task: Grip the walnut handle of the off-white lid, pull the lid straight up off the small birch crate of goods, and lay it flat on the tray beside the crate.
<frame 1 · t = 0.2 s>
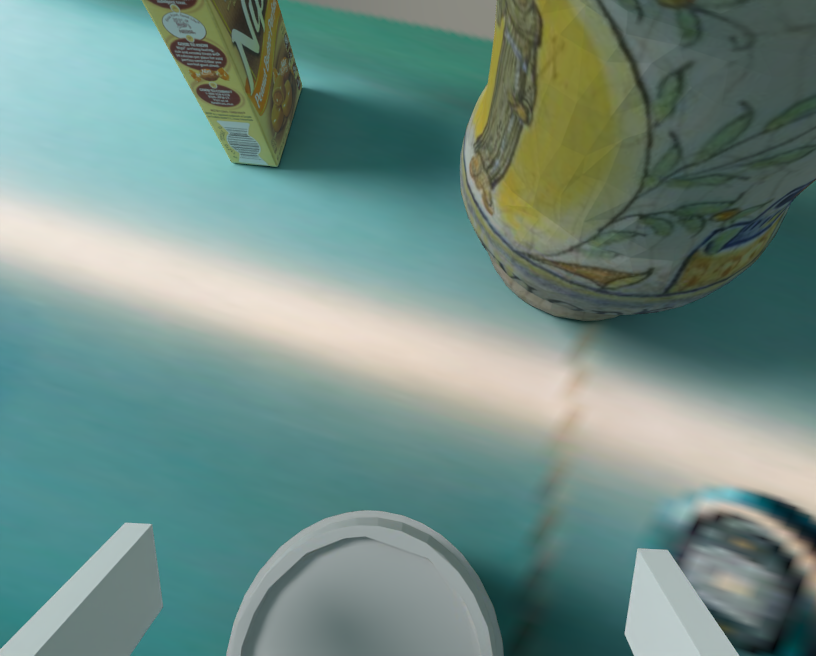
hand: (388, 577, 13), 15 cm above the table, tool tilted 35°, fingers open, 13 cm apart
disposable coffee cup: (386, 605, 26), on the table
vase: (572, 237, 35), on the table
candy box: (268, 125, 39), on the table
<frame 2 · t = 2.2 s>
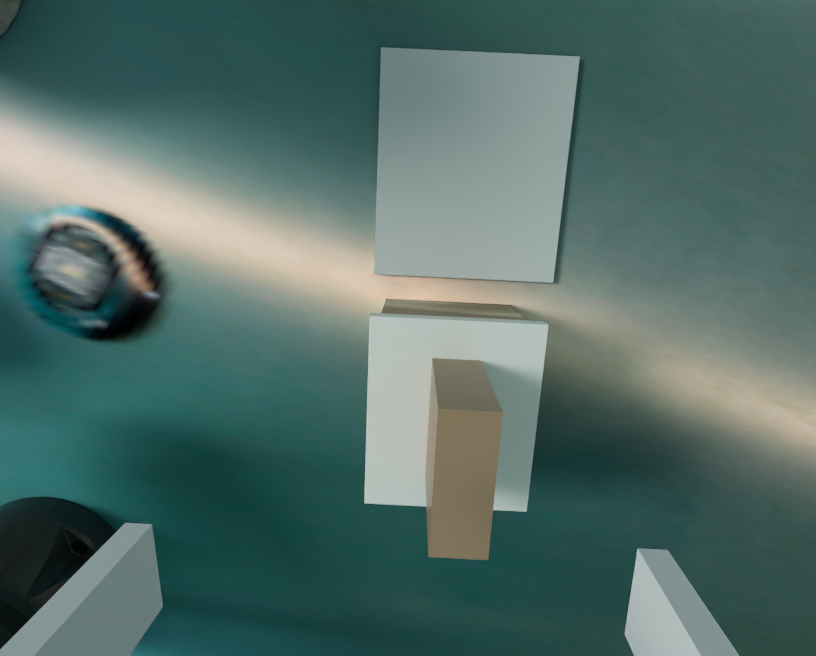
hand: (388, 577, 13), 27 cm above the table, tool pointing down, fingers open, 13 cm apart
tray: (470, 171, 36), on the table
lid: (449, 403, 33), point 6 cm above the table, touching crate
crate: (443, 373, 40), on the table
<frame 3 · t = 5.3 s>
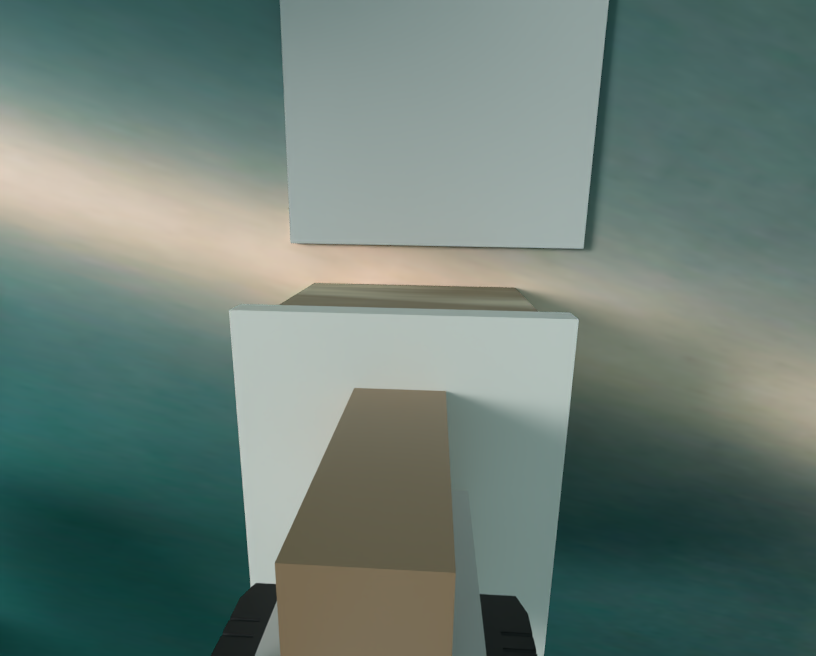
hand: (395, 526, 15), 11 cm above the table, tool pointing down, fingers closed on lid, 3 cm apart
tray: (439, 63, 21), on the table
lid: (403, 460, 19), point 6 cm above the table, touching crate, gripper
crate: (411, 397, 25), on the table
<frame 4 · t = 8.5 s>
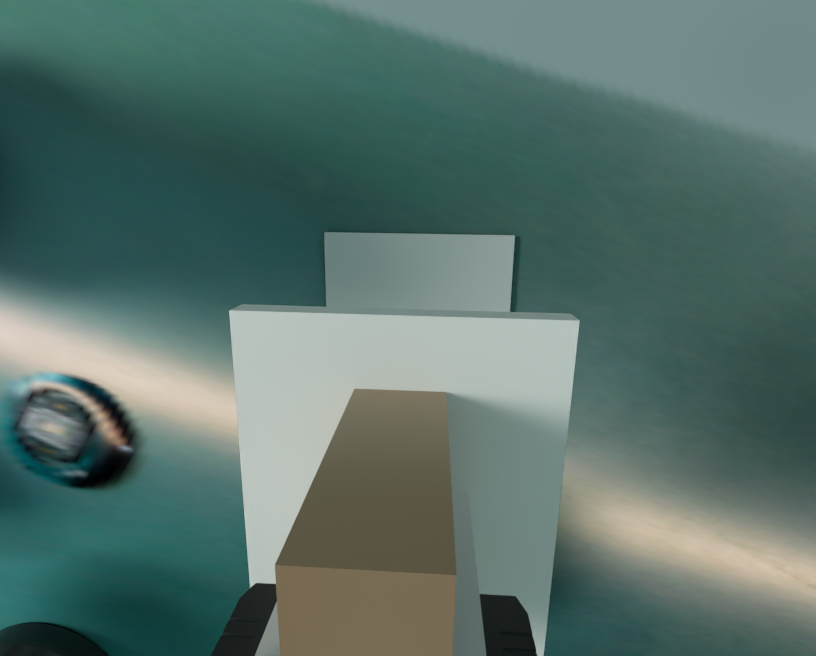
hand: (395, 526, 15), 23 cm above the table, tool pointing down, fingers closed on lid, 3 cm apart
tray: (416, 337, 37), on the table
lid: (403, 461, 19), point 19 cm above the table, touching gripper
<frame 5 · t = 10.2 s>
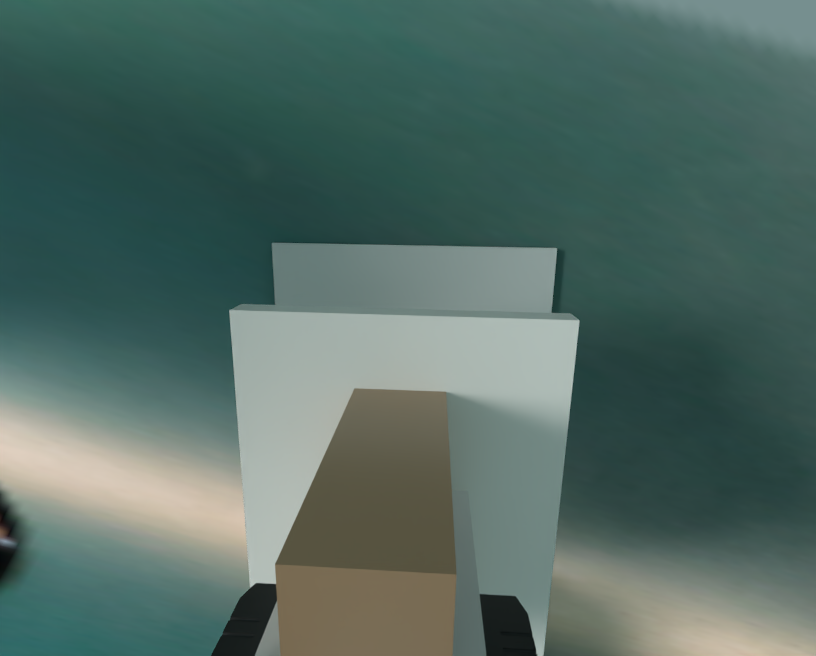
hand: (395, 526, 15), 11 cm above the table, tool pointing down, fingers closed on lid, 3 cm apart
tray: (410, 395, 26), on the table
lid: (403, 461, 19), point 7 cm above the table, touching gripper
when the fingers open (5 cm above the table, at t = 11.8 s): lid drops 1 cm, resting on tray.
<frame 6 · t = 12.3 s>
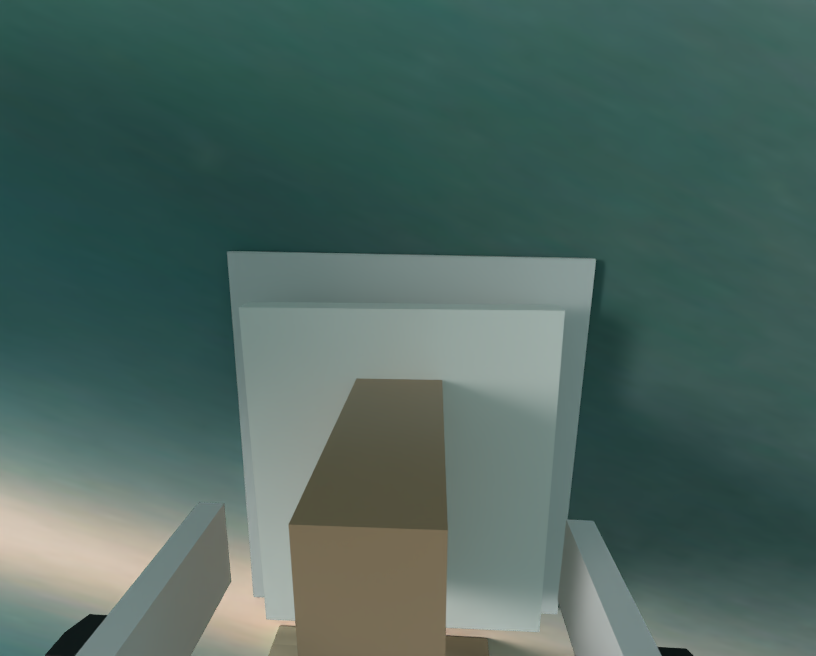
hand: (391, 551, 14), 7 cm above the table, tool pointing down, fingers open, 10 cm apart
tray: (405, 442, 20), on the table
lid: (404, 448, 20), resting on tray
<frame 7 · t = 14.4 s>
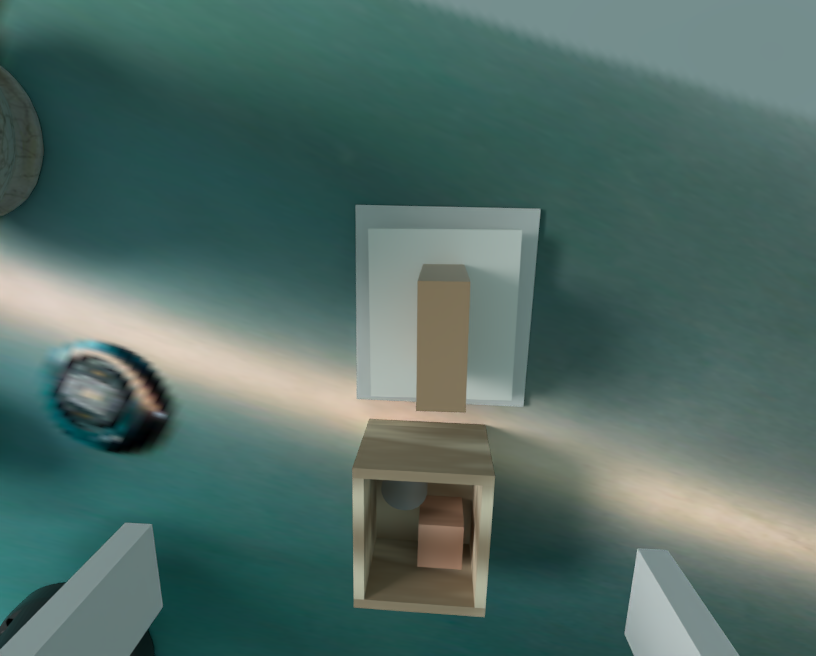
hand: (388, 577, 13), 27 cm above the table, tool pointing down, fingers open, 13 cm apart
tray: (442, 308, 39), on the table
lid: (442, 310, 38), resting on tray
crate: (424, 483, 43), on the table
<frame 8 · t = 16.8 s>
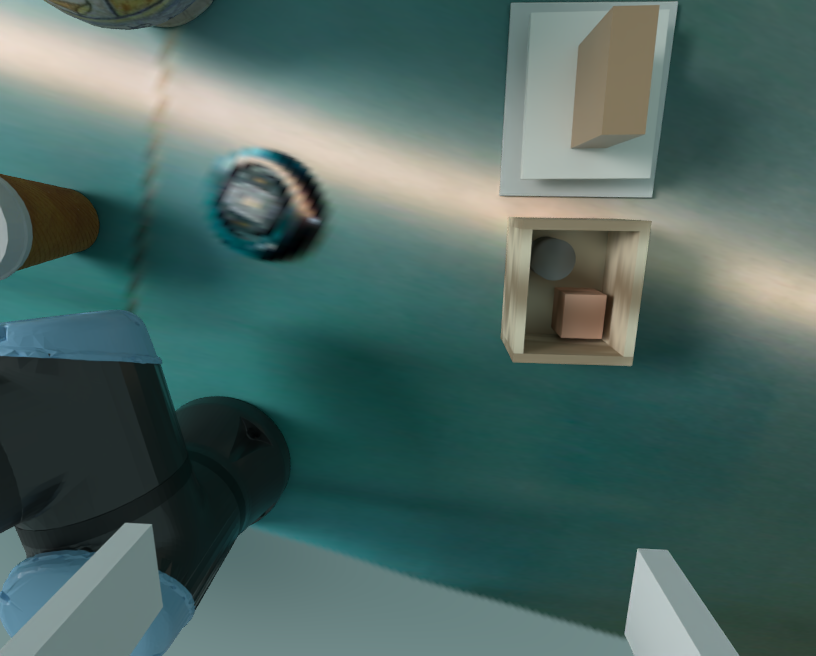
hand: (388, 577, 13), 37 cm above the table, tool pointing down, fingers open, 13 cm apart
tray: (582, 104, 43), on the table
disposable coffee cup: (70, 220, 49), on the table
lid: (583, 104, 43), resting on tray
crate: (555, 280, 47), on the table
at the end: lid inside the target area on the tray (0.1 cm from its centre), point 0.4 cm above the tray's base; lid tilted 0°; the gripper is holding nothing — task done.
